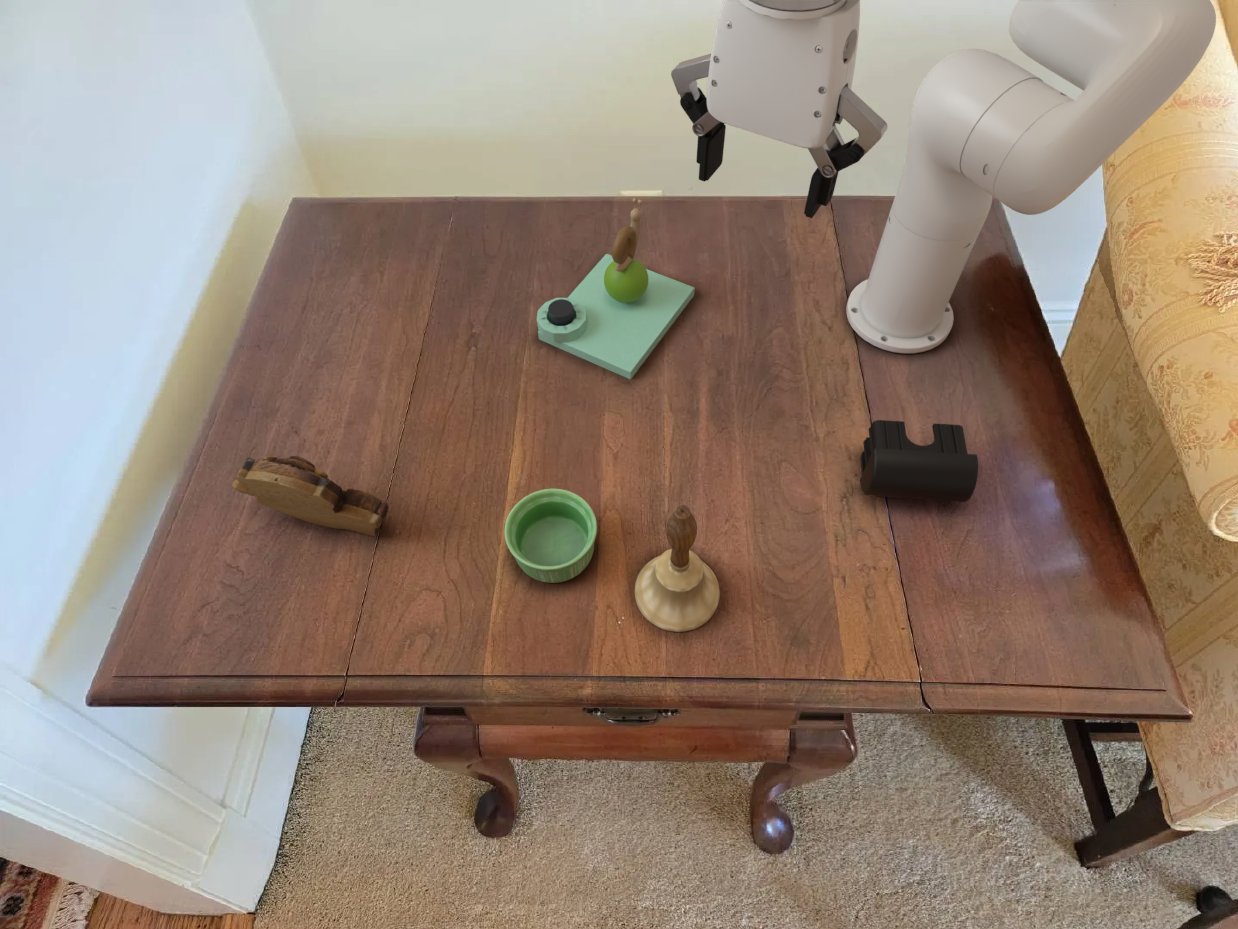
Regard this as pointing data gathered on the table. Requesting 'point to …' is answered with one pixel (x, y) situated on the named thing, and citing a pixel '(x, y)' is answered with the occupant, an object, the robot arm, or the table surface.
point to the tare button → (561, 312)
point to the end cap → (917, 464)
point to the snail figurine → (626, 263)
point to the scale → (616, 321)
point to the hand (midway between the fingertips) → (761, 189)
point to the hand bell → (678, 581)
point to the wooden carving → (309, 494)
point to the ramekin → (551, 534)
